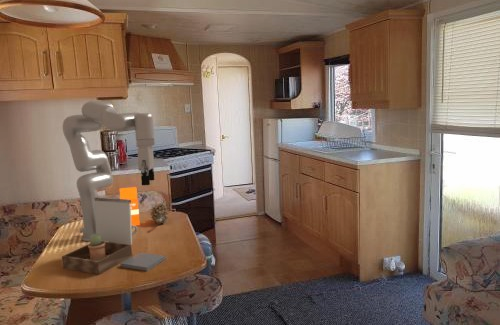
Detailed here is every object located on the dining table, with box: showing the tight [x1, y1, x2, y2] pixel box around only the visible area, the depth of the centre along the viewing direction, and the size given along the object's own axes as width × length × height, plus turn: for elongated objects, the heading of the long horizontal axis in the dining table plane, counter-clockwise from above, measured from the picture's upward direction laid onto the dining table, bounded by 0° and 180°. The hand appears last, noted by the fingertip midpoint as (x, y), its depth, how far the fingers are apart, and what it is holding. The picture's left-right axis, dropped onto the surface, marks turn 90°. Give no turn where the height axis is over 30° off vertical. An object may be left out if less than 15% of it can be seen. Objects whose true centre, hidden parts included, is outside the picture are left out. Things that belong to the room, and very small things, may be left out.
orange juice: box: [119, 186, 141, 226], centre depth 219 cm, size 8×9×20 cm
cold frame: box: [61, 241, 133, 275], centre depth 169 cm, size 19×19×5 cm
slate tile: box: [119, 252, 166, 272], centre depth 166 cm, size 13×12×2 cm
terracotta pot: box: [87, 234, 107, 261], centre depth 168 cm, size 7×7×12 cm
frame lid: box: [95, 196, 133, 245], centre depth 176 cm, size 19×19×1 cm
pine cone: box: [150, 203, 169, 225], centre depth 216 cm, size 22×10×10 cm, turn 14°
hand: (148, 182), depth 174 cm, fingers open, 9 cm apart
